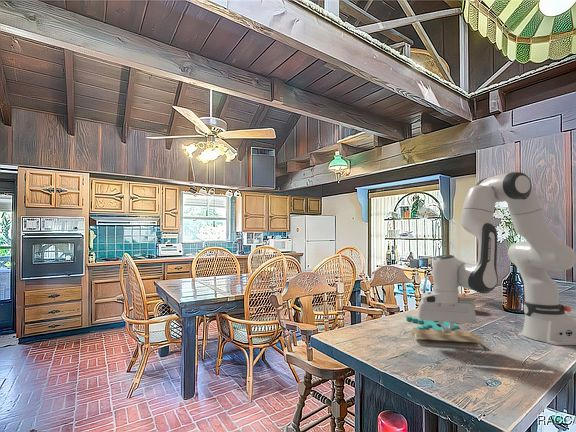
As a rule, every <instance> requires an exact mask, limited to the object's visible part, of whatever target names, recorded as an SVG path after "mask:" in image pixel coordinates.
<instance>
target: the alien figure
mask: <svg viewBox="0 0 576 432" xmlns="http://www.w3.org/2000/svg"><path fill="white" fill-rule="evenodd" d="M405 318H406V321H407V322H412V323H417V325H418V326H417V327H413V328H412V329H423V330H429V328H432V330H441V331H442V327H441V325H440V323H439V321H426V320H421V319H420V318H417V317H412V316H411V315H410V316H408V315H407V316H406V317H405ZM442 325H443V326H444V327H449V325H450V323H449V322H444V324H442ZM457 329H460V328H459V325H458V324H457V322H454V326H453V328H452V329H451V331H456V330H457Z"/></svg>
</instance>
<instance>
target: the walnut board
mask: <svg viewBox="0 0 576 432" xmlns="http://www.w3.org/2000/svg"><path fill="white" fill-rule="evenodd" d="M411 330H412V333H413V336H414V337H413V336H412V337H413V338H414V339H415V333H422V334H440V335H457V336H474V337H477V336H476V335H475V334H474V332H472V331H456V330H451V333H443V332H442V331H441V330H433V329H424V330H423V329H413V328H412V329H411Z"/></svg>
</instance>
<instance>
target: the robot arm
mask: <svg viewBox="0 0 576 432" xmlns="http://www.w3.org/2000/svg"><path fill="white" fill-rule="evenodd" d="M500 202H501V203H502V202H505V203H507V209H508V211H509V214H510V215H509V216H510V219H511V223H512V226H513V229H514V231H515V233H516V234H518V235H519V236H520V237H523V239H525V241H520V242H515V243H512V244H511V245H509V247H508V250H507V257H508V259H509V261H510V262H511V263H512V264H513V265H515V267H516V269H518V272H519V274H520V277H521V278H522V283H523V289H524V290H523V291H524V300H523V312H524V324H523V328H522V331H521V334H522V336H524V337H526V338H528V339H531V340H536V341H538V342H544V343H546V344H551V345H554V346H576V319H574V318H572V317H571V315H569V314H567V313H566V312H568V313H570V312H571V311H572V308H571V307H570V306H568V305H563V304H562V303H560V296H559V293H560V292H559V284H557V282H556V281H555V280H554V279H552V278H551V277H550V276H549V274H548V272H547V271H552V272H554V271H555V272H556V271H568V270H571V269H572V268H574V266H575V264H576V251H575V250H574V249H573V248H572V247H570V246H568V244H566V243H564V242H563V241H562V240H561V239H560V238H558V237H557V236H556V234H555V233H554V232H553V230H552V229H551V228H550V225H549V224H548V221H547V217H546V215H545V212H544V209H543V206H542V202H541V200H540V198H539V195H538V194H537V192H536V191H535V189H534V188H533V186H532V181H531V179H530V177H529V176H528V175H527V174H526V173H524V172H519V171H518V172H517V171H516V172H514V171H513V172H512V171H511V172H509V173H500V174H497V175H495V176H491V177H487V178H483V179H481V180H479V181H478V182H477V183H476V184H475V185H474V186H472V187H470V188H469V190H468V191H467V194H466V196H465V199H464V202H463V204H462V209H461V212H460V213H461V214H460V224H461V226H462V228H463V229H464V230H465V231H466V232H467V233H469V234H471V235H473V236H474V237H476V239H477V242H478V252H477V253H478V255H477V263H476V264H472V263H468V262H465V261H463V260H462V261H461V260H460V259H458V258H456V256H455V255H453V254H442V255H438V256H436V257H434V259H433V262H432V274H431V275H432V280H433V286H432V291H427V292H423V293H421V294H420V299H421V300H420V301H419V302H418V308H417V317H418V319H421V320H423V321H425V320H426V321H439V323H440V325H441V327H442V332H443V333H451V331H452V330H451V329H452V328H453V326H454V322H455V323H464V324H465V323H466V324H475V322H476V321H477V316H476V315H477V314H476V307H477V306H476V303H475V301H474V300H473V299H471V298H462V297H458V294H459V287H461V288H464V289H468V290H473V291H475V292H477V293H479V294H482V295H484V294H489V293H491V292H492V291H493V290H495V288H496V287H497V286H498V283H499V276H498V270H497V269H498V268H497V257H498V231H497V227H496V226H495V225H494V215H495V214H494V213H495V208H496V203H500ZM471 300H473V301H471ZM444 322H449V323H450V325H449V327H444V326H443V325H442V324H444Z"/></svg>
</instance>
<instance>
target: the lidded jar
mask: <svg viewBox="0 0 576 432" xmlns="http://www.w3.org/2000/svg"><path fill="white" fill-rule="evenodd" d="M458 297H462V298H471V299H473V300H474V301H475V303H476V302H477V297H476V296H475V295H471V294H466V293H465V292H463V293H462V294H461V293H458ZM473 300H471V301H473Z"/></svg>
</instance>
